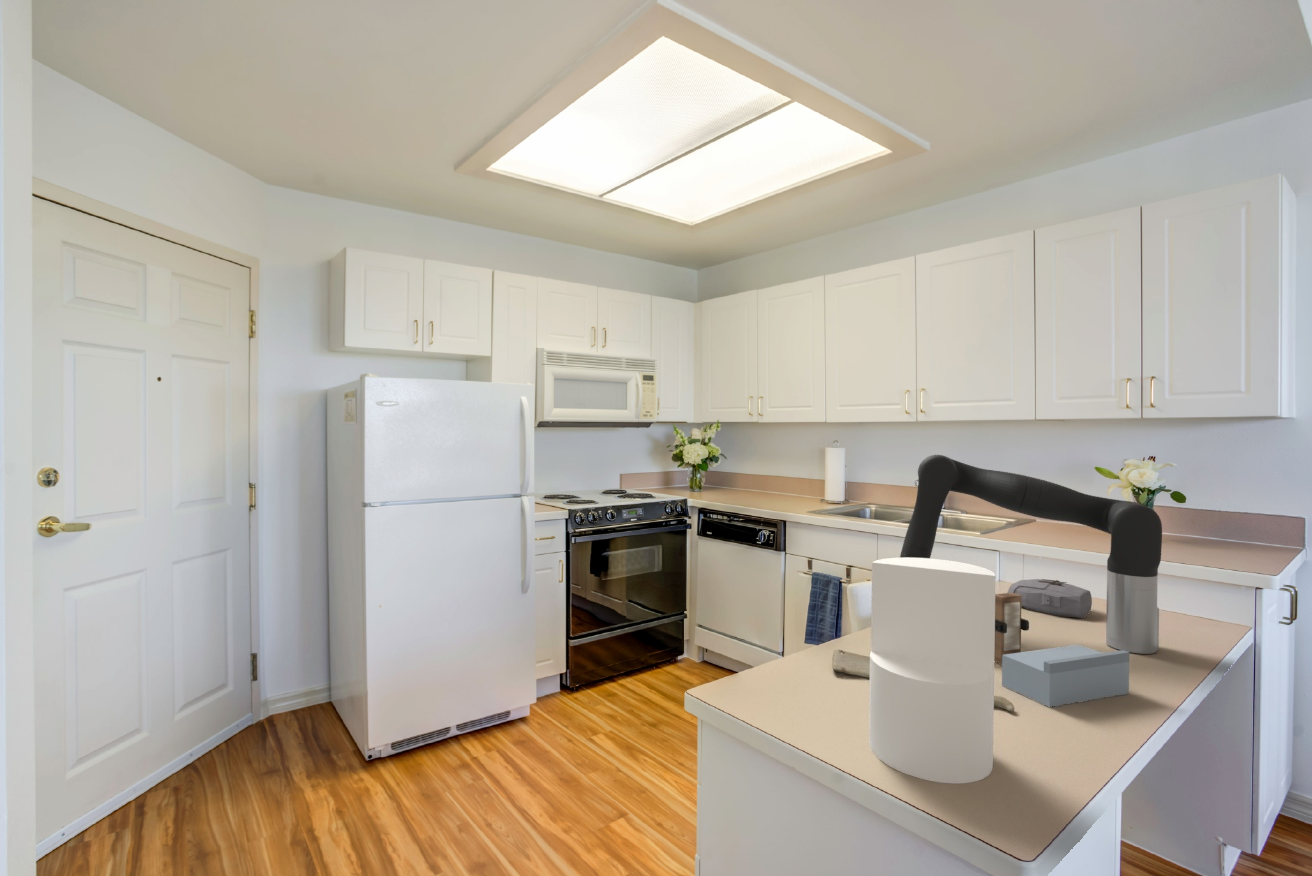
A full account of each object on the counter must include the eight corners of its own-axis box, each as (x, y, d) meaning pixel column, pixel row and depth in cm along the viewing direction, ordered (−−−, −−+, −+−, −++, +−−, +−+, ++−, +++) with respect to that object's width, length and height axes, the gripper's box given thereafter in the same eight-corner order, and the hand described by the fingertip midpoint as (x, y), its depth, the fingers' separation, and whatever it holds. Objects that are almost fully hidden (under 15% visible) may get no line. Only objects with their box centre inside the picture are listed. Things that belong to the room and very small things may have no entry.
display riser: (1077, 673, 127) (1078, 635, 127) (1128, 693, 118) (1129, 652, 118) (1001, 685, 121) (1002, 645, 121) (1049, 707, 111) (1049, 663, 111)
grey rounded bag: (1096, 612, 173) (1017, 597, 188) (1097, 582, 173) (1017, 569, 188) (1081, 622, 163) (998, 606, 178) (1081, 590, 163) (998, 577, 178)
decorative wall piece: (838, 704, 114) (1017, 718, 108) (838, 688, 114) (1017, 701, 108) (826, 647, 144) (966, 656, 138) (826, 635, 144) (966, 643, 138)
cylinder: (880, 716, 107) (882, 553, 107) (995, 742, 99) (997, 565, 98) (857, 761, 92) (859, 572, 92) (990, 797, 84) (993, 588, 83)
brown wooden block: (1003, 654, 138) (1004, 590, 138) (1027, 664, 132) (1028, 597, 132) (984, 657, 136) (985, 592, 136) (1008, 667, 130) (1008, 599, 130)
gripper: (930, 592, 145) (990, 612, 129) (978, 587, 150) (1042, 606, 134) (930, 624, 145) (990, 648, 129) (978, 619, 150) (1042, 641, 134)
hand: (1016, 627), depth 132 cm, fingers closed on brown wooden block, 5 cm apart
